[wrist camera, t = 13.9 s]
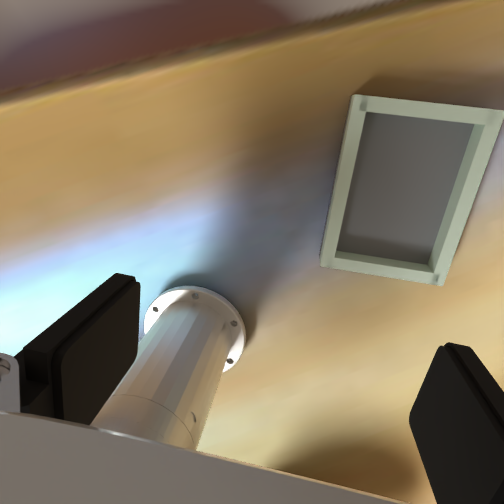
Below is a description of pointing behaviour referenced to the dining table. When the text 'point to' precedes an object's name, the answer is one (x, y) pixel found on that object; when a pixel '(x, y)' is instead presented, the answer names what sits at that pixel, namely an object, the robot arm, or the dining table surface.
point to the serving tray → (405, 186)
